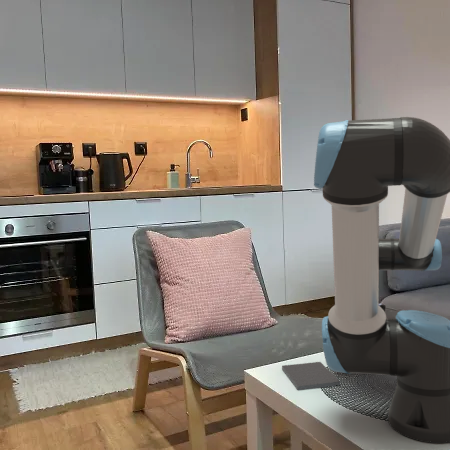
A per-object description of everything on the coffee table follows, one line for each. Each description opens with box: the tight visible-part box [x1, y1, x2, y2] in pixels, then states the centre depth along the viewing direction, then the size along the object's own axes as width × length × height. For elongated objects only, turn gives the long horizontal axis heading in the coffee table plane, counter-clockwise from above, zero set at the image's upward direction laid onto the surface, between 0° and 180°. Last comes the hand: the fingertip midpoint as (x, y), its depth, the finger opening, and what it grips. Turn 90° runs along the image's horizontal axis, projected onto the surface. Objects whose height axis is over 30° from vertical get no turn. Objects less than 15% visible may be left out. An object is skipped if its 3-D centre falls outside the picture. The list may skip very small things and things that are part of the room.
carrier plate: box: [281, 361, 341, 391], centre depth 133 cm, size 14×11×1 cm
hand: (360, 368), depth 135 cm, fingers closed on mechanical component, 9 cm apart
